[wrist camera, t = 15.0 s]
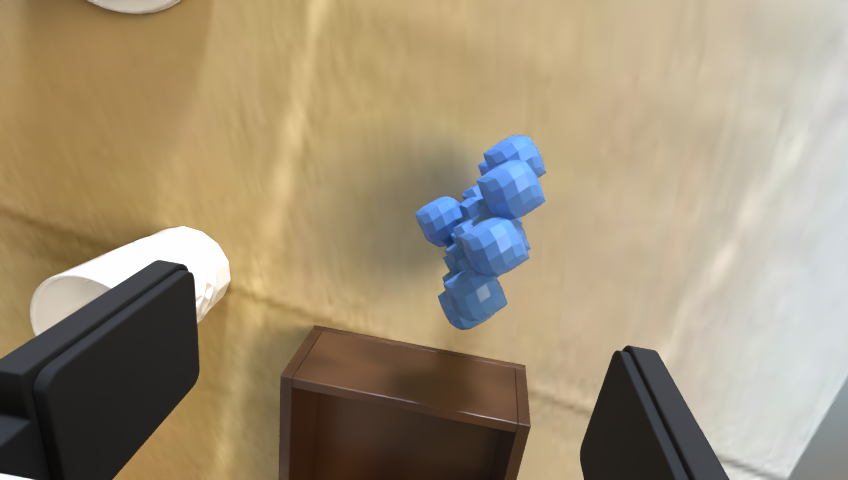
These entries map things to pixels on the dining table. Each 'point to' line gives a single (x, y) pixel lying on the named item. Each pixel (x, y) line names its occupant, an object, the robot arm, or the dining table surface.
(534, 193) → the grapes
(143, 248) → the white cup
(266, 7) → the dining table surface
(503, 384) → the brown wooden box
